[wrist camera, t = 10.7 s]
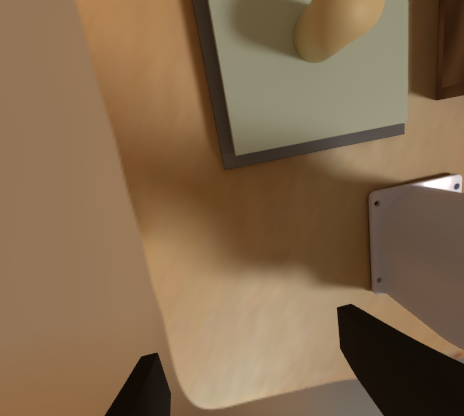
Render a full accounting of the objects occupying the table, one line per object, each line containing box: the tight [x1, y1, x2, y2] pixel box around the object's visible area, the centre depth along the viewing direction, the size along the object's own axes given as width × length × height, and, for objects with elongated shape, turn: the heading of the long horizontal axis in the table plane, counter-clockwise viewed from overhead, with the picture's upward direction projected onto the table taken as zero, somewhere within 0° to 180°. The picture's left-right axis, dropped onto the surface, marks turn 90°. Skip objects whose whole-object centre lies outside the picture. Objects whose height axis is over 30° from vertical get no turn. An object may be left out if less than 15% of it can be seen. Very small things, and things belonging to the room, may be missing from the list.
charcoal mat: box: [192, 0, 404, 170], centre depth 17 cm, size 14×14×1 cm
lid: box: [207, 0, 408, 156], centre depth 14 cm, size 12×12×5 cm
